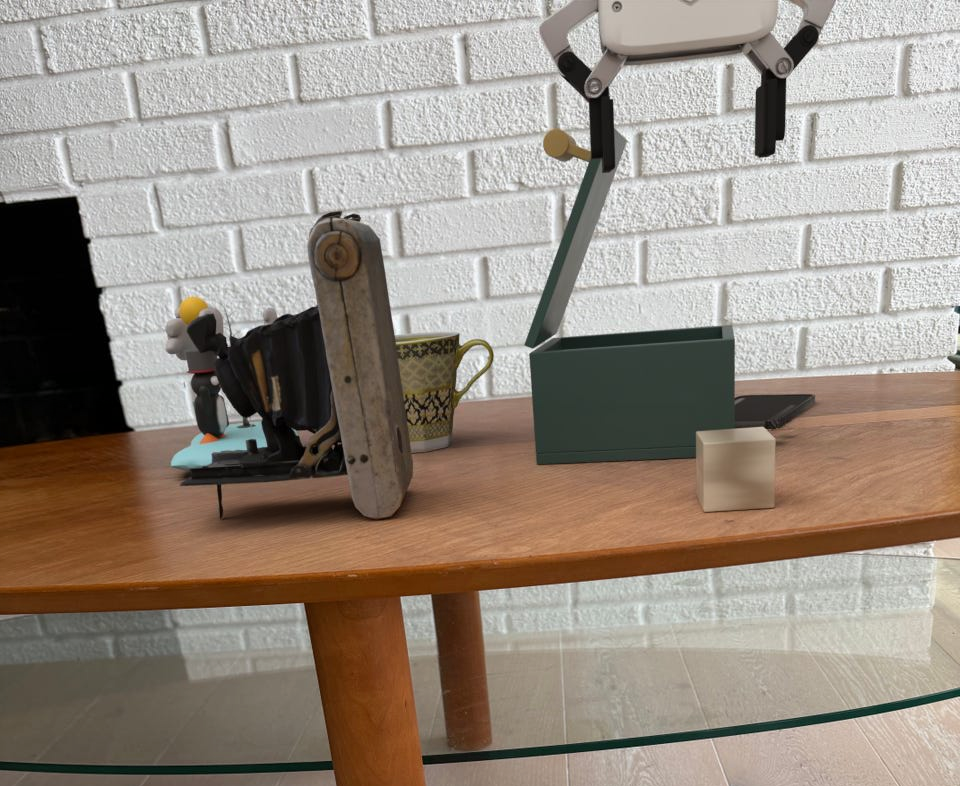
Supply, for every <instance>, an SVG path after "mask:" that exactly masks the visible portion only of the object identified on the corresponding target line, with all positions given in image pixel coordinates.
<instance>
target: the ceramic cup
mask: <svg viewBox="0 0 960 786" xmlns="http://www.w3.org/2000/svg"><path fill="white" fill-rule="evenodd" d="M395 341H396V348H397V355H398V363H399V370H400V377H401V384H402V390H403V397H404V403H405V410H406V417H407V424H408V431H409V439H410V446H411V454H414V453H426V452H431V451H435V450H441V449H446V448H449V446H450V445H451V444H452V441H453V429H454V416H455V409H456V408H457V407H458V405H459V402H460V400H461V399H462V397H463V396H464V395H466V393H467V392H468V391H470V389H471V388H472V386H473V384H474V383H475V382H476V381H477V380H479V379H480V377H482V376H483V375H484V374H485V373H487V371H489V369H490V368H491V366H492V364H493V362H494V359H495V358H494V357H495V356H494V355H495V354H494V350H493V347H492V346H491V344H490V343H489V342H487V340H484V339H482V338H481V339H480V338H474V339H471V340H469V341H468V340H467V341H466V342H465V343H463V344H462V345H461V344H460V333H459V332H457V331H425V332H415V333H414V332H413V333H403V334H395ZM475 346H482V347H485V348H486V350H487V351H488V354H489V357H488V361H487V363H486V364H485V366H484V367H482V368H481V370H479V371H478V372H477V373H476V374H475V375H473V377H472V378H470V380H469V381H468V383H467V384H466V385H465V387H463V389H461V390H457V389H456V387H457V376H458V375H457V374H458V368H459V366H460V365H461V362H462V360H463V358H464V356H465V355H466V354H467V352H468V351H470V349H472V348H473V347H475Z"/></svg>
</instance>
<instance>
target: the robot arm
mask: <svg viewBox="0 0 960 786" xmlns="http://www.w3.org/2000/svg"><path fill="white" fill-rule="evenodd" d="M786 1H787V2H789V3H791V4H793V5H795V6H797V7H798V8H800V9H801V10H802V19H801V21H800V23H799V26H798V28H797V29H796V32H795V34H794V35H793V36H792V38H791V39H790V40H789V41H788V42H787V44H786V45H785V46H784V47H783V46H782V44H780V42H779V41H778V40H777V39H776V37H775V36H774V35H773V34H772V31H773V30H774V28H775V26H776V24H777V19H778V13H779V12H778V10H779V0H570V1H569V2H567V3H566V4H565V5H563V6H561V7H560V8H559V9H557V10H556V11H555V12H554V13H552V14H550V15H549V16H548V17H547V18H545V19H544V20H543V21H542V22H541V23H540V25H539V30H538V31H539V37H540V39H541V41H542V44H543V45H544V47H545V49H546V50H547V53H548V54H549V56H550V58H551V60H552V62H553V63H554V65H555V67H556V69H557V71H558V74H559V75H560V76H561V77H562V79H564V80H565V81H566V82H567V83H568V84H569V85H570V86H571V87H572V88H573V89H574V90H575V91H577V93H578V94H579V95H580V96H581V97H582V98H583V99H584V100H585V102H586V103H588V118H589V119H588V120H589V143H590V145H589V146H590V151H591V159H598V158H602V173H609V172H611V170H614V168H615V138H614V128H615V111H614V110H615V109H614V108H615V107H614V98H611V96H610V86H611V85H612V83H613V81H614V80H615V79H616V77H617V76H618V74H619V73H620V71H621V69H622V68H623V66H642V65H644V66H645V65H653V64H662V63H673V62H681V61H691V60H700V59H708V58H717V57H726V56H733V55H738V54H743V55H744V56H745V58H746V59H747V60H748V61H749V62H750V63H751V65H752V66H753V67H754V69H755V70H756V71H757V72H758V74H759V75H760V85H759V86H758V87H757V88H755V95H754V96H755V99H754V101H755V103H754V104H755V106H754V109H755V111H754V156H755V157H757V158H758V159H762V158H768V157H770V156H773V155H775V154H776V148H777V142H779V141H783V140H785V135H786V118H787V115H786V113H787V78H788V77H790V75H792V73H793V72H794V70H795V69H797V67H798V66H799V64H801V62H802V61H803V60H804V59H805V58H806V56H808V54H809V53H810V51H811V50H813V48H814V47H815V46H816V45H817V42H818V41H819V37H820V35H821V32H822V31H823V29H824V27H825V25H826V23H827V20H828V19H829V17H830V15H831V13H832V10H833V8H834V5H835V4H836V2H837V0H786ZM596 14H597V19H598V20H597V21H598V22H597V23H598V36H599V42H600V44H599V45H600V49H601V54H602V55H601V57H600V59H599V60H598V62H597V63H596V65H595V66H594V68H593V70H592V69H591V68H589V66H587V65H586V63H584V61H583V60H582V59H580V58H579V56H577V54H575V52H574V50H573V49H572V47H571V44H570V42H569V40H568V37H569V35H570V33H572V32H573V31H574V30H575V29H577V28H578V27H579V26H581V25H582V24H584V23H585V22H586V21H588V20H590V19H591V18H592V17H593V16H595V15H596Z"/></svg>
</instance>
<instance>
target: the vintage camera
mask: <svg viewBox="0 0 960 786" xmlns="http://www.w3.org/2000/svg"><path fill="white" fill-rule="evenodd" d="M342 215H343V210H337V211H331V212H327V213H325V214H322V216H320V217H319V218H318V219H317V220H316V222H315V223H314V225H313V226H312V227H310V230H309V233H308V240H307V245H306V246H307V258H308V265H309V268H310V273H311V278H312V283H313V287H314V292H315V299H316V305H315V306H311V307H309V308H307V309H305V310H303V311H301V312H299V313H295V314H291V313H285V314H282V315H280V316H279V317H277V319H276V320H275V321H274V322H273V323H272V324H269V325H264V324H261V325H257V326H255V327H253V328H251V329H249V330H248V331H246V333H245V335H244V336H242V337H239V338H238V337H235V336H233V335H232V336H231V337H230V336H229V337H230V338H229V337H228V340H229V343H230V342H231V345H230V346H228V341H227V336H225V334H224V335H223V334H221V333H218V334H216V319H215V316H214V313H212V314H205V315H203V316H200V317H198V318H196V319H194V320H193V321H192V322H191V323H190V324H189V326H188V327H187V333H188V335H189V337H190V339H191V340H192V342H193V343H194V345H195V346H196V348H197V349H198V350H199V352H200V353H204V352H207V351H214V354H215V356H217V357H218V359H216V360H215V361H214V370H215V374H216V377H217V379H218V381H219V384H220V386H221V391H222V393H223V394H224V395H225V397H226V399H227V400H228V402H229V403H230V405H231V407H232V408H233V409H234V410H235V411H236V412H237V413H238V414H239V416H241V417H242V418H243V417H244V418H247V419H249V417H250V416H251V417H252V416H254V415H259V416H260V417H261V421H260V422H261V424H262V429H263V432H264V435H265V438H266V443H267V447H261V448H257V442H256V439H249V440H246V447H247V450H234V451H230V450H227V451H221V452H213V453H212V463H211V464H209V465H207V466H203V468H193V469H190V471H189V472H190V477H188V478H187V479H185V480H183V481H182V482H180V483H179V487H194V486H195V487H196V486H197V487H198V486H199V487H200V486H216V493H217V499H218V513H219V520H221V519H222V518H223V517H224V507H223V503H222V502H223V493H222V491H223V490H222V485H239V484H240V485H241V484H259V483H274V482H275V483H276V482H287V481H297V480H310V479H311V480H312V479H324V478H326V479H327V478H333V477H343V476H347V479H348V484H349V490H350V498H351V499H352V502H353V504H354V507H355V509H357V510H358V511H359V513H361V515H362V516H363V517H366V518H367V517H368V518H371V519H374V520H376V521H377V520H380V519H385V518H390V517H392V516H393V515H394V514H395V512H396V511H397V510H398V509H400V507H401V505H402V502H403V500H404V499H405V496H406V493H407V491H408V488H409V486H410V485H411V481H412V479H413V475H414V461H413V456H412V454H413V453H411V446H410V439H409V431H408V424H407V417H406V410H405V403H404V397H403V390H402V384H401V377H400V370H399V363H398V355H397V348H396V341H395V335H396V334H395V329H394V323H393V316H392V315H393V314H392V310H391V303H390V296H389V288H388V283H387V277H386V276H387V275H386V268H385V263H384V256H383V249H382V244H381V239H380V238H379V236H378V235H377V234H376V232H375V231H374V230H373V228H372V227H371V226H370V225H369V224H366V223H364V222H361V220H362V217H361V215H360V214H358V213H350V214H348V215H345V216H343V217H342ZM293 429H294V430H296V431H297V432H300V431H302V432H303V431H308V432H309V433H312V435H311V437H310V438H309V440H308V442H307V443H306V446H303V444H302V442H301V437H300V435H297V436H296V434H295V432H294V430H293Z"/></svg>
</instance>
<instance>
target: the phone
mask: <svg viewBox="0 0 960 786" xmlns="http://www.w3.org/2000/svg"><path fill="white" fill-rule="evenodd" d="M815 404H816V395H815V394H812V393H794V394H793V393H792V394H791V393H790V394H789V393H788V394H787V393H785V394H783V393H782V394H743V395H738V396H735V429H738V428H752V427H764V428H765V429H772V430H777V429H776V428H778V429H781V428H782V427H784V426H786V425H787V424H788V423H790V422H791V421H792V420H794V419H795V418H797V417H798V416H799V415H801V414H803V413H804V412H805V411H807V410H808V409H810V408H811V407H812V406H814V405H815ZM786 423H787V424H786ZM783 425H784V426H783ZM780 427H781V428H780Z"/></svg>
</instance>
